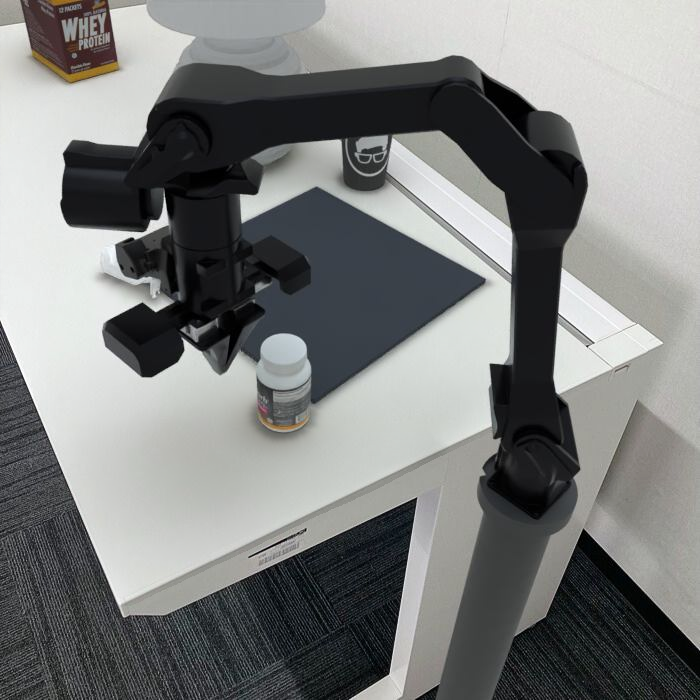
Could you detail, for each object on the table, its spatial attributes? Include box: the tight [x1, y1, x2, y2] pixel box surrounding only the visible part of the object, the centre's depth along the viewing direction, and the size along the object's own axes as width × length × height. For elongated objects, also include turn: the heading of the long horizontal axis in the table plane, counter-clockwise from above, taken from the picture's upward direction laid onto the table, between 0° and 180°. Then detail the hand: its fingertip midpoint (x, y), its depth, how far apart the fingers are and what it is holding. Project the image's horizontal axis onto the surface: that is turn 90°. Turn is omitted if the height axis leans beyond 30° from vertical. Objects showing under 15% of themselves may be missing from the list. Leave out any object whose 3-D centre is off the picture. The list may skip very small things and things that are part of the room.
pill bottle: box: [255, 334, 312, 433], centre depth 83 cm, size 6×6×10 cm
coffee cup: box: [340, 135, 394, 192], centre depth 119 cm, size 10×10×15 cm
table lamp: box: [145, 0, 327, 167], centre depth 115 cm, size 25×25×40 cm
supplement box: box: [19, 0, 120, 83], centre depth 146 cm, size 10×15×16 cm
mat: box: [159, 185, 487, 404], centre depth 104 cm, size 32×32×1 cm
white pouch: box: [99, 243, 161, 299], centre depth 100 cm, size 5×7×10 cm
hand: (219, 371), depth 74 cm, fingers closed
